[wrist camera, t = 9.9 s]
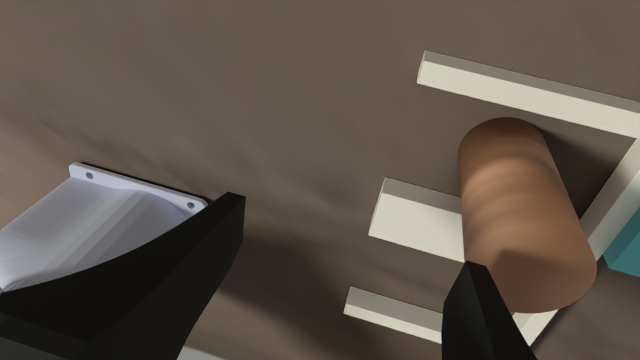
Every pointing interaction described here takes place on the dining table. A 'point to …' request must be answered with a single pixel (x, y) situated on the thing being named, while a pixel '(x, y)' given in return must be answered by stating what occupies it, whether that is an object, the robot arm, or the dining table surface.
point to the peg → (521, 218)
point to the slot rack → (445, 210)
